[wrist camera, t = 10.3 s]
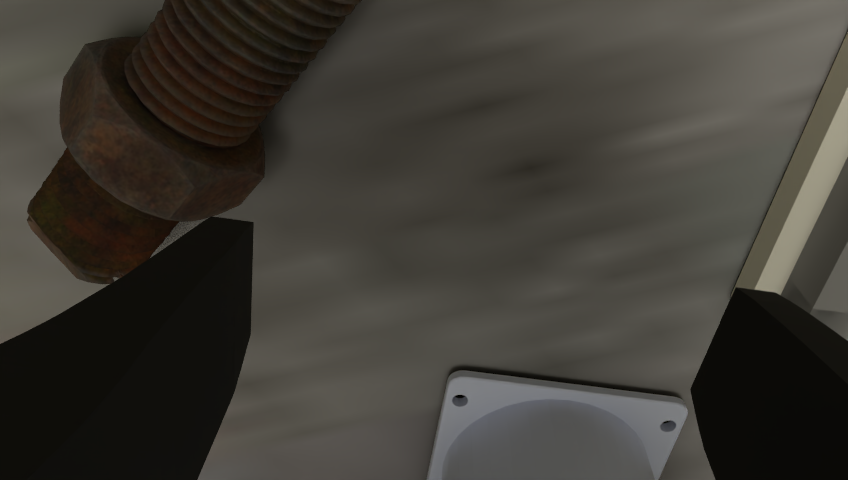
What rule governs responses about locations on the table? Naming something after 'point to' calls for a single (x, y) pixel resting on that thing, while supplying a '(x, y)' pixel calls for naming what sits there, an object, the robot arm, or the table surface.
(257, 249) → the table surface
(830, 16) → the table surface
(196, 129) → the bolt
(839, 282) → the keyhole plate
